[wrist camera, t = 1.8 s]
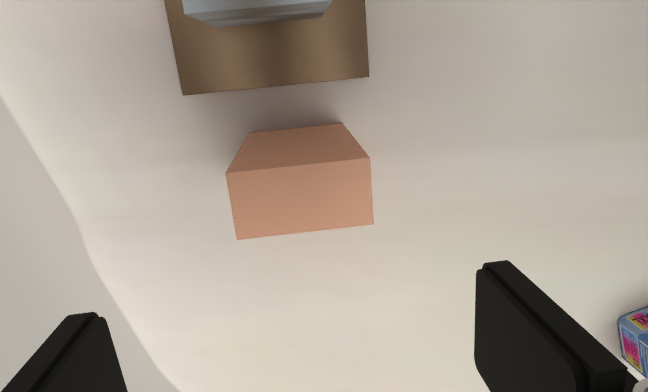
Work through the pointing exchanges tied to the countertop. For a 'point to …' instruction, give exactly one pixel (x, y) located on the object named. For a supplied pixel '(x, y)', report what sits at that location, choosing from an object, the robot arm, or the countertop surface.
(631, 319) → the ink cartridge box
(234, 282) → the countertop surface
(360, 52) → the walnut shelf
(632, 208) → the countertop surface
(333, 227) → the terracotta rectangular block
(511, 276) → the robot arm
